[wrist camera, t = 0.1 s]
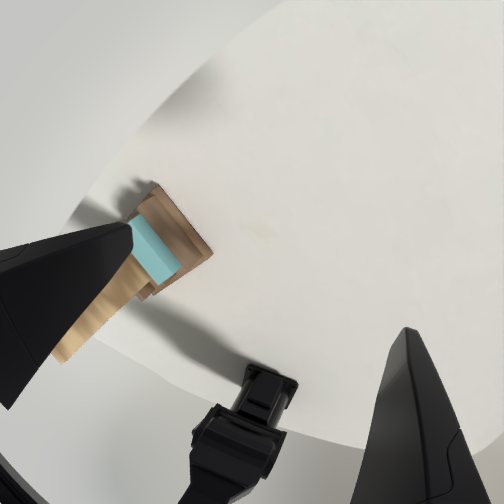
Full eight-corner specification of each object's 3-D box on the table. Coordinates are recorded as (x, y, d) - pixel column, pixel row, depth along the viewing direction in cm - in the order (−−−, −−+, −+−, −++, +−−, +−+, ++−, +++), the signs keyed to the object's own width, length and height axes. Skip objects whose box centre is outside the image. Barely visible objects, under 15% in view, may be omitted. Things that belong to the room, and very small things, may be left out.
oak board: (162, 269, 31) (66, 361, 21) (150, 278, 33) (60, 364, 22) (134, 235, 31) (30, 317, 20) (124, 247, 32) (28, 324, 21)
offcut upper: (182, 265, 28) (173, 274, 27) (167, 276, 29) (158, 285, 28) (140, 213, 27) (129, 220, 25) (128, 228, 28) (117, 235, 27)
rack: (213, 253, 29) (196, 271, 27) (158, 290, 35) (143, 306, 33) (159, 185, 28) (138, 197, 25) (115, 237, 34) (97, 249, 32)
